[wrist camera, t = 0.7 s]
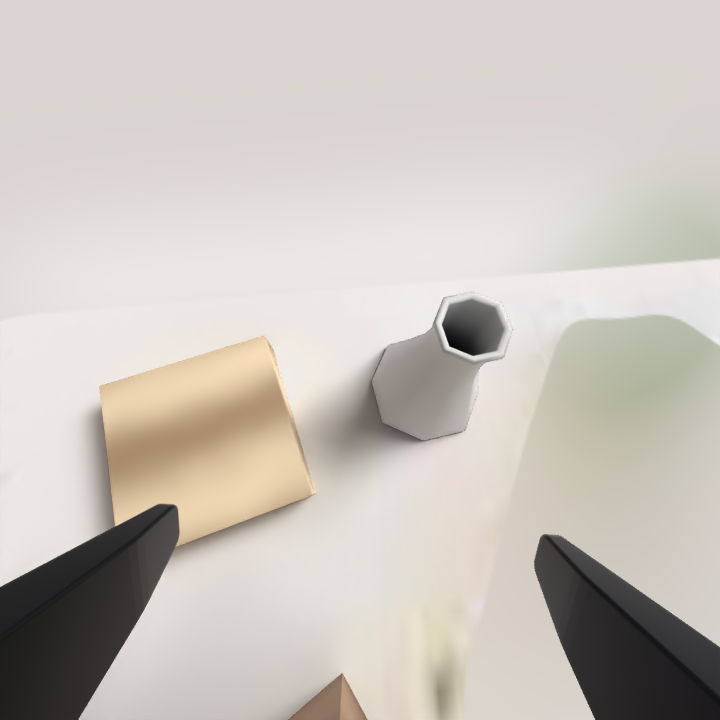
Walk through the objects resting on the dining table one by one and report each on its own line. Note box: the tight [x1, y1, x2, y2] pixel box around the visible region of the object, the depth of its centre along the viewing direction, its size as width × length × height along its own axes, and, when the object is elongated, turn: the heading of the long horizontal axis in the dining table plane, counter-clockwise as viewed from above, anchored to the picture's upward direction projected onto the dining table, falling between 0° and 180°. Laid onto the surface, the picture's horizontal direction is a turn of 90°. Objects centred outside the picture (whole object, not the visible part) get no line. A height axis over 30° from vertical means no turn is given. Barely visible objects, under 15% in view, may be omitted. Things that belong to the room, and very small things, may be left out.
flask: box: [372, 292, 513, 441], centre depth 18 cm, size 7×7×10 cm
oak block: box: [99, 336, 315, 547], centre depth 20 cm, size 10×10×3 cm
